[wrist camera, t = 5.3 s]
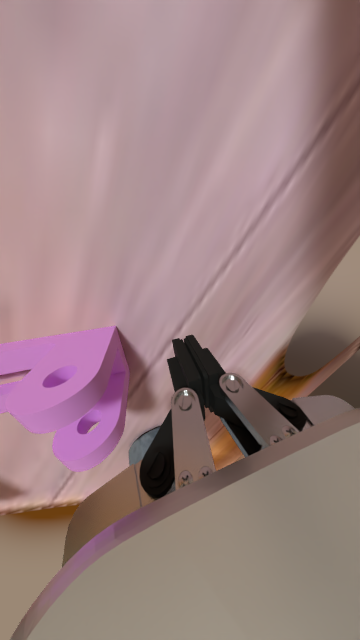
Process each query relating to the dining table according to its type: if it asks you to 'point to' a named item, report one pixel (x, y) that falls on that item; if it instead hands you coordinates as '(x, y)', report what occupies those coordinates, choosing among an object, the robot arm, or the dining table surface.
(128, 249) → the dining table surface
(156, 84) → the dining table surface
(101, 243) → the dining table surface
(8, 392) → the bracket
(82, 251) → the dining table surface
